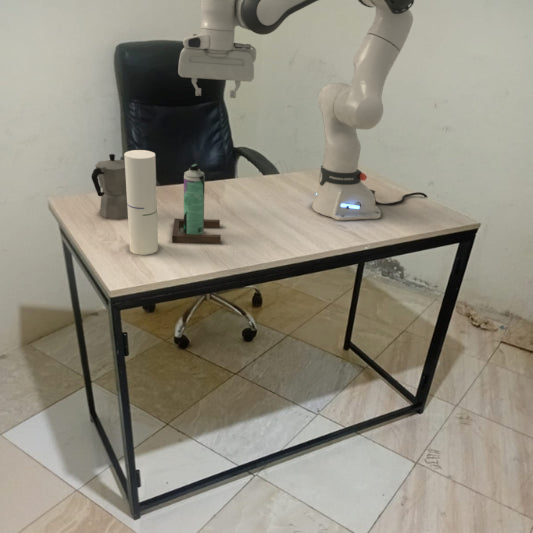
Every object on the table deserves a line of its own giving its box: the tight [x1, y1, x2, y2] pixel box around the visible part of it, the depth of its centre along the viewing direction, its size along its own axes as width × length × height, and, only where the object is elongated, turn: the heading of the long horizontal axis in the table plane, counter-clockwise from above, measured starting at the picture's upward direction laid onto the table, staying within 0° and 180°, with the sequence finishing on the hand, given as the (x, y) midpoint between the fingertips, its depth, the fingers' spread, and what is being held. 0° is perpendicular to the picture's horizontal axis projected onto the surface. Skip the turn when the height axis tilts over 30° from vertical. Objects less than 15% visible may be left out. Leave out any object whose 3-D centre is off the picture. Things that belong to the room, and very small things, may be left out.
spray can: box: [183, 163, 206, 234], centre depth 137 cm, size 6×6×20 cm
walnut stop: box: [171, 217, 222, 245], centre depth 141 cm, size 13×12×2 cm
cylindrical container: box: [123, 149, 159, 256], centre depth 125 cm, size 7×7×25 cm
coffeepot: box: [91, 153, 128, 220], centre depth 145 cm, size 15×9×18 cm, turn 158°
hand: (215, 96), depth 138 cm, fingers open, 8 cm apart
